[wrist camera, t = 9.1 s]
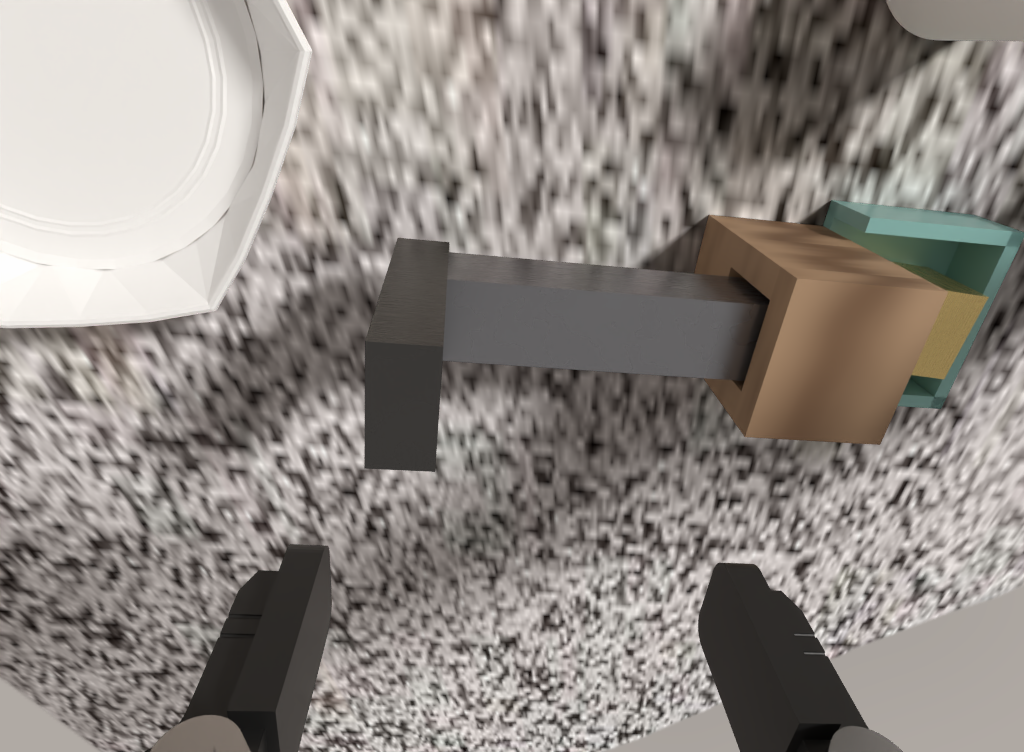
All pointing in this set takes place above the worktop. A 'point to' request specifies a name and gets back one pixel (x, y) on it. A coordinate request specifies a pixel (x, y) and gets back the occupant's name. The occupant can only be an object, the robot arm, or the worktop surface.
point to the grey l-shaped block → (536, 331)
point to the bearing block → (820, 330)
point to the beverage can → (961, 19)
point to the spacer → (946, 323)
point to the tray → (933, 262)
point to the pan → (138, 152)
